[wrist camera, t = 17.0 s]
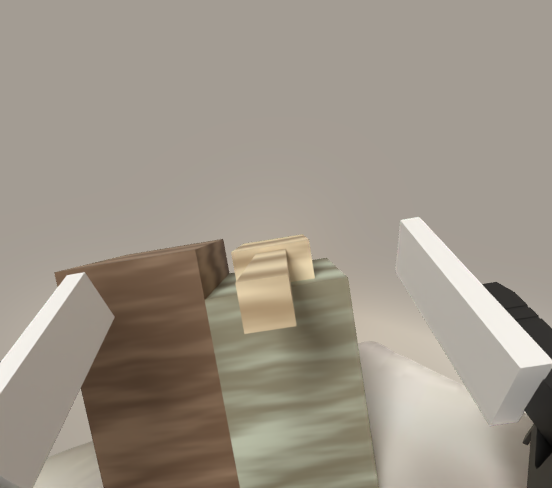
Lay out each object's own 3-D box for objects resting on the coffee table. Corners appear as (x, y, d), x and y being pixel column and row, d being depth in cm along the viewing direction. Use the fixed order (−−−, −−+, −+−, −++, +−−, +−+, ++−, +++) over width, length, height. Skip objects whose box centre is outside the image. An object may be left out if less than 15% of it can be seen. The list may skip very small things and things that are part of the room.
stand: (381, 506, 31) (340, 225, 29) (115, 541, 32) (54, 272, 30) (350, 416, 45) (321, 222, 43) (166, 442, 46) (127, 254, 44)
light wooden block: (341, 327, 17) (331, 258, 17) (203, 348, 17) (190, 281, 17) (306, 263, 41) (302, 234, 41) (248, 272, 41) (243, 243, 41)
